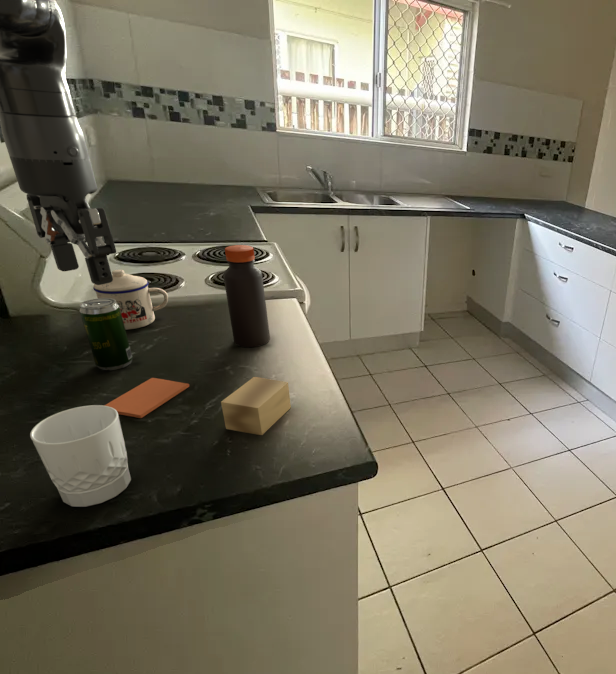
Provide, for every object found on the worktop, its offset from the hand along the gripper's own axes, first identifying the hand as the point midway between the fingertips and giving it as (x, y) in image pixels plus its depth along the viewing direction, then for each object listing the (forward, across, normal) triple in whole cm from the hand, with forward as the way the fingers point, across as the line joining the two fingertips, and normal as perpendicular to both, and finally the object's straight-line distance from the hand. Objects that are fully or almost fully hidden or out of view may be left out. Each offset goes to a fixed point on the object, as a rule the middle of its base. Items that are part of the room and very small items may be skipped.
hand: (85, 276), depth 66 cm
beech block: (+22, +19, +10) cm, 31 cm away
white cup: (+22, +16, -11) cm, 29 cm away
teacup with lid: (+22, -31, +19) cm, 43 cm away
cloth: (+22, 0, +4) cm, 22 cm away
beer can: (+22, -15, +7) cm, 28 cm away
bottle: (+22, -5, +27) cm, 35 cm away
